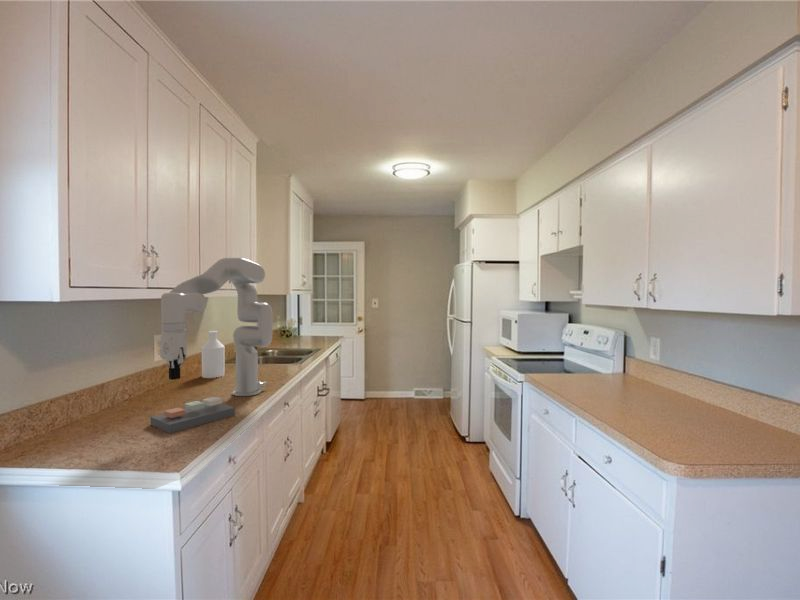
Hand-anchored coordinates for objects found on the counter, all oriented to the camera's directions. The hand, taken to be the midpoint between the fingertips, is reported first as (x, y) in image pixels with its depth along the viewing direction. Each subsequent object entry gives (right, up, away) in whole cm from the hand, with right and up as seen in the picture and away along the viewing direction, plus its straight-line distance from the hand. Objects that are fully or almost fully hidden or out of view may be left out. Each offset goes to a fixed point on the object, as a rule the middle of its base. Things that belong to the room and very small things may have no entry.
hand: (174, 378), depth 142 cm
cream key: (+8, -12, +12) cm, 18 cm away
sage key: (+4, -12, +6) cm, 14 cm away
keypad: (+4, -17, +6) cm, 18 cm away
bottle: (-24, -15, +81) cm, 86 cm away
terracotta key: (0, -13, 0) cm, 13 cm away
